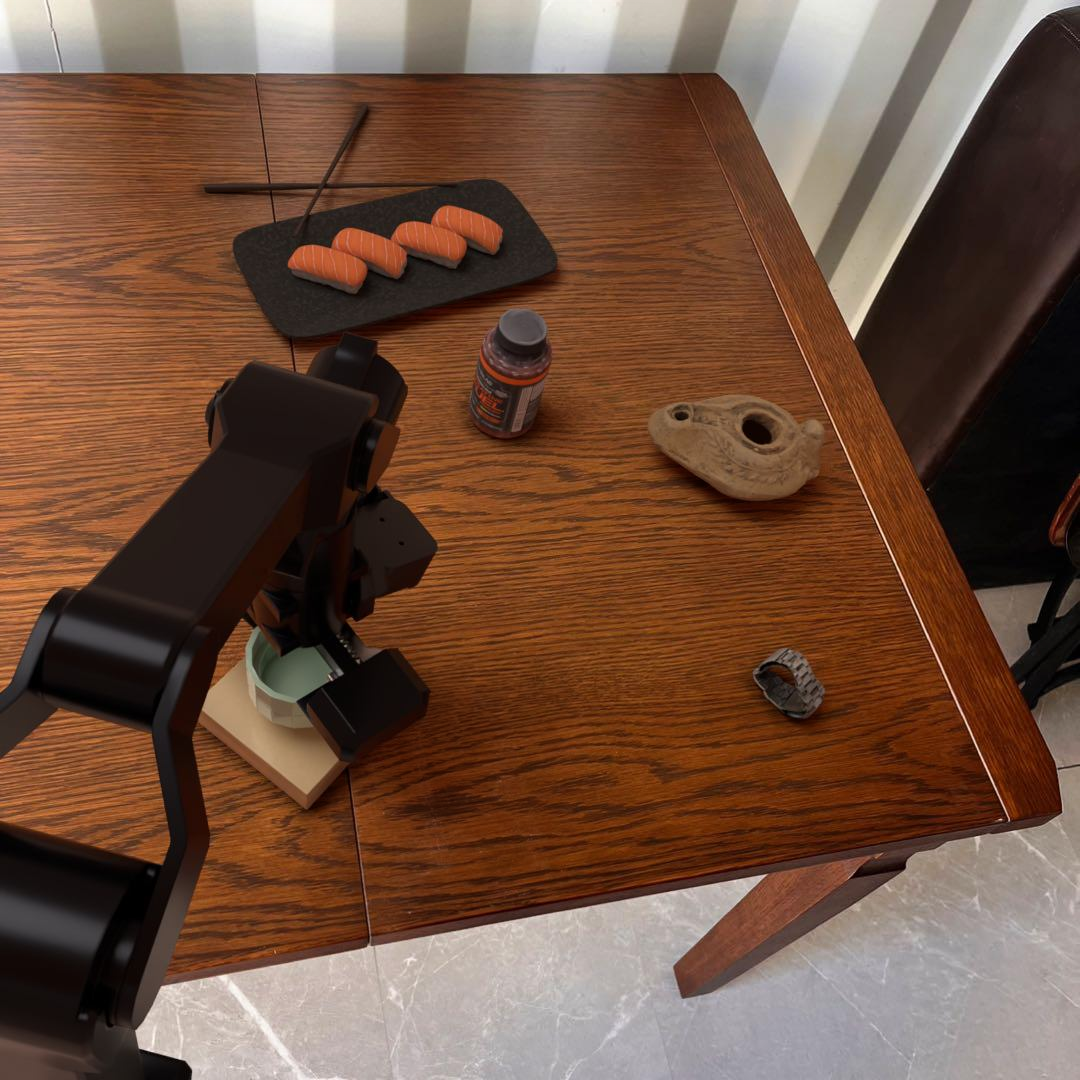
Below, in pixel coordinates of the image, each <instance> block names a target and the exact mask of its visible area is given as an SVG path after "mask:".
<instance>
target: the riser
mask: <svg viewBox="0 0 1080 1080" xmlns="http://www.w3.org/2000/svg"><path fill="white" fill-rule="evenodd" d="M356 661H357V662H358V663H359V660H356ZM197 723H199V724H200V725H201V726H202V727H204V729H206V730H207V731H209V732H210V733H211V734H212V735H213V736H215V737H216V738H217V739H219V740H220V742H222V743H223V744H224V745H225V746H226V747H228V748H229V749H230V750H231V751H233V752H234V753H235V754H237V755H238V756H239V757H240V758H242V759H243V760H244V761H245V762H247V763H248V764H249V765H251V766H252V767H253V768H254V769H255V770H257V771H258V772H259V773H260V774H262V776H264V777H265V778H266V779H268V780H269V781H270V782H271V783H273V784H274V785H275V786H276V787H278V788H279V789H280V790H281V791H282V792H284V793H286V795H287V796H289V797H290V798H291V799H292V800H293V801H295V802H296V803H297V804H298V805H300V806H301V807H302V808H303V809H305V810H307V811H308V810H309V809H310V808H311V806H312V805H313V804H314V803H315V802H316V801H317V800H318V799H319V798H320V797H321V795H322V794H323V793H324V792H325V791H326V790H327V789H328V788H329V786H330V785H332V783H333V782H334V781H335V780H336V779H337V778H338V777H339V776H340V775H341V774H342V772H343V771H344V770H345V769H346V768H347V767H348V766H349V764H351V763H350V762H343V761H339V759H338V758H337V757H336V755H335V754H334V752H333V751H332V750H331V748H330V747H329V746H328V744H327V743H326V741H325V740H324V739H323V737H322V736H321V735H320V734H319V733H318V732H317V730H316V729H315V728H314V727H305V728H290V727H286V726H283V725H280V724H276V723H274V722H271V721H270V720H269V719H268V718H266V717H265V716H264V715H263V714H261V713H260V712H259V711H258V710H257V709H256V707H255V705H254V703H253V701H252V699H251V697H250V695H249V692H248V682H247V672H246V655H245V656H244V657H243V658H241V659H240V660H239V661H238V662H237V663H236V664H235V665H234V666H233V667H232V668H231V669H230V670H229V671H228V672H226V674H225V675H223V676H222V677H221V678H220V679H219V680H218V681H217V682H216V683H215V684H214V685H213V686H212V687H210V688H209V691H208V694H207V697H206V699H205V702H204V705H203V708H202V711H201V714H200V716H199V719H198V722H197Z"/></svg>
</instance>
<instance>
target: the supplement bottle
mask: <svg viewBox="0 0 1080 1080" xmlns="http://www.w3.org/2000/svg"><path fill="white" fill-rule="evenodd" d="M547 335H548V326H547V323H546V321H545V319H544V317H542V316H541V315H540V314H539V313H537V312H536V311H533V310H531V309H529V308H525V307H523V308H521V307H516V308H511V309H508V310H506V311H505V312H504V313H502V314H501V315H500V317H499V319H498V323H497V324H496V325H493V326H492V327H491V328H490V329H489V330H488V331H487V332H486V333H485V335H484V336H483V339H482V341H481V343H480V344H481V345H480V348H479V354H478V358H477V362H476V368H475V373H474V377H473V381H472V387H471V392H470V397H469V404H468V412H469V416H470V419H471V421H472V422H473V424H474V425H475V426H476V427H477V429H479V431H481V432H483V433H485V434H486V435H489V436H490V437H493V438H498V439H512V438H517V437H520V436H522V435H524V434H526V432H528V431H529V430H530V429H531V428H532V426H533V424H534V422H535V419H536V416H537V413H538V409H539V406H540V402H541V400H542V396H543V392H544V389H545V385H546V383H547V379H548V375H549V372H550V367H551V365H552V360H553V348H552V345H551V342H550V340H549V339H548V337H547Z"/></svg>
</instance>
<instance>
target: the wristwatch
mask: <svg viewBox="0 0 1080 1080" xmlns="http://www.w3.org/2000/svg"><path fill="white" fill-rule="evenodd" d="M770 667H772V668H773V667H777V668H782V669H784V670H787V671H788V672H790V674H791V676H792V678H793V681H794V684H795V686H793V685H791V684H789V683H787V682H785V681H783V680H782V678H781V677H780V676H779V675H778V674H777V673H775V672H774V671H772V670H770ZM752 675H753V676H752V677H753V678H752V679H753V681H754V682H755V684H757V686H758V688H760V689H761V690H762V691H763V692H762V694H763V696H764V697H765V698H766V700H768V701H769V702H770V703H771V704H772V705H773V706H774V707H775V708H777V709H778V710H779V711H780V713H782V714H783V715H785V716H787V717H789V718H791V719H792V718H793V719H808V718H809V717H811V715H812V714H814V712H815V711H817V709H818V708H819V706H820V705H821V703H822V702H823V700H824V699H825V696H826V694H825V692H826V690H825V687H824V683H823V682H822V681H820V680H818V679H817V677H816V676H815V674H814V673H813V669H812V667H811V666H810V663H809V661H808V660H807V659H806V657H805V656H804V655H803V653H801V652H800V651H798V650H796V651H795V650H793V649H790V648H789V647H784V648H779V649H777V650H776V651H774V652H773V653H772V654H770V655H769V656H768V657H767V658H766V659H765V660H763V661H762V662H761V663H760V664H759V665H758V666H757V667H756V668H755V669H754V670H753V671H752Z"/></svg>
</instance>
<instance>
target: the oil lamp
mask: <svg viewBox="0 0 1080 1080" xmlns="http://www.w3.org/2000/svg"><path fill="white" fill-rule="evenodd" d="M646 428H647V433H648V436H649V438H650V440H651V442H652V444H653V445H654V446H655V447H656V449H657V450H658V451H660V452H661V453H662V454H664V455H665V456H667V457H668V458H669V459H671V460H672V461H674V462H676V463H677V464H678V465H680V466H681V467H683V468H684V469H686V470H687V471H689V472H690V473H691V474H693V475H695V476H696V477H698V478H699V479H701V480H703V481H704V482H705V483H707V484H709V485H710V486H711V487H712V488H714V489H715V490H717V491H718V492H719V493H721V494H723V495H725V496H728V497H730V498H733V499H737V500H741V501H747V502H763V501H772V500H778V499H783V498H787V497H789V496H791V495H793V494H796V492H797V491H798V490H800V489H801V488H802V487H803V486H804V485H806V483H807V482H809V481H810V480H813V479H816V478H817V477H818V476H819V474H820V472H821V471H820V470H821V464H820V463H821V462H820V460H821V458H820V457H821V454H822V451H823V449H822V448H823V446H824V442H825V439H826V430H825V427H824V424H822V423H821V422H820V421H819V420H818V419H811V418H810V419H807V420H805V421H803V422H802V423H800V424H799V423H798V421H797V420H796V419H795V418H794V417H793V415H792V414H791V413H789V412H788V411H787V410H785V409H783V408H782V407H780V406H779V405H777V404H776V403H773V402H771V401H769V400H766V399H764V398H762V397H758V396H754V395H749V394H727V395H721V396H715V397H711V398H707V399H706V398H705V399H703V400H702V399H701V400H700V401H699V400H698V401H678V402H674V403H669V404H667V405H665V406H663V407H661V408H660V409H657V410H656V411H654V412H653V413H652V414H651V415H650V416H649V419H648V422H647V426H646Z"/></svg>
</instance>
